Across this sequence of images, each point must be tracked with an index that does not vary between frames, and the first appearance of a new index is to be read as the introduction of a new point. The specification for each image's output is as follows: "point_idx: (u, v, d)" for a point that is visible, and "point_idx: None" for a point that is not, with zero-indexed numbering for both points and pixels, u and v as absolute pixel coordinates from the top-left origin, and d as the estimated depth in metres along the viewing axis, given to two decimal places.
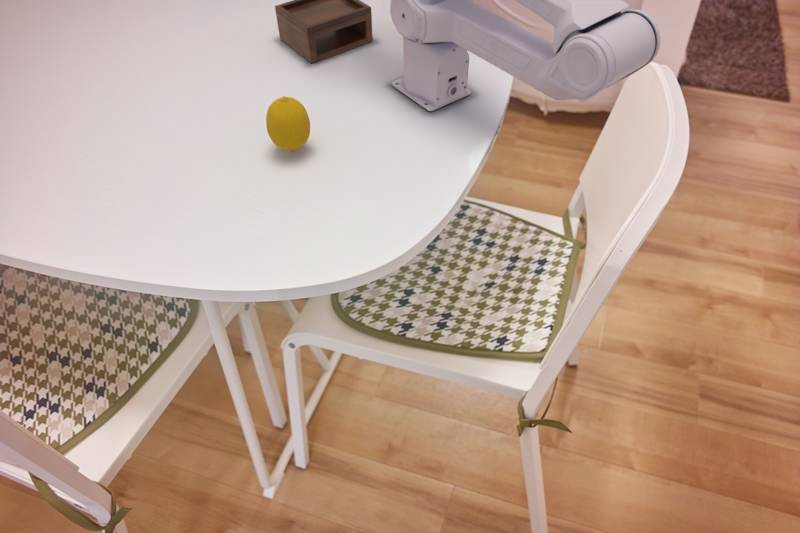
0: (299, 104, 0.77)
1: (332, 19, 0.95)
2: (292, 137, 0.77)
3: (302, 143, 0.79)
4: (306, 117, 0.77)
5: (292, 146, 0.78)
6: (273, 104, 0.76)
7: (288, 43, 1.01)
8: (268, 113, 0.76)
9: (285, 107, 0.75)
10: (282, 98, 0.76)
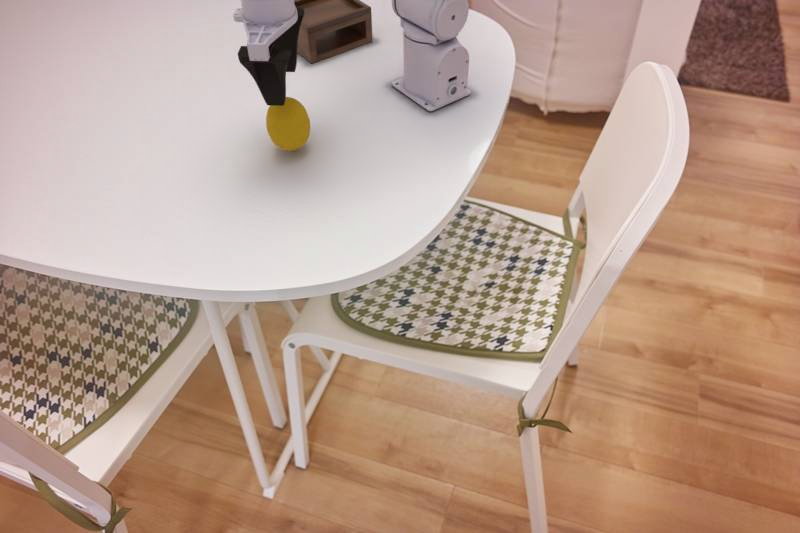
0: (299, 104, 0.77)
1: (332, 19, 0.95)
2: (292, 137, 0.77)
3: (302, 143, 0.79)
4: (306, 117, 0.77)
5: (292, 146, 0.78)
6: None
7: None
8: (268, 113, 0.76)
9: (285, 107, 0.75)
10: None
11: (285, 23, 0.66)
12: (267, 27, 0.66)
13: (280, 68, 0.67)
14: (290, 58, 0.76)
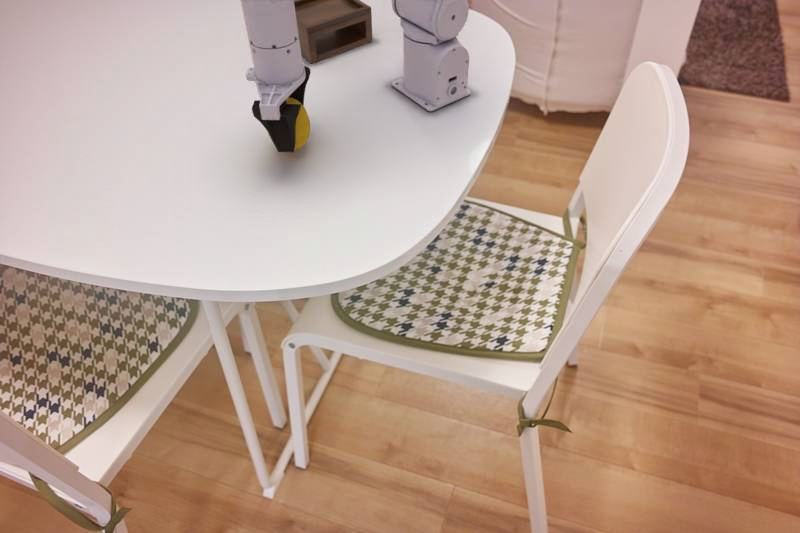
0: None
1: (332, 19, 0.95)
2: None
3: (302, 144, 0.79)
4: (306, 117, 0.77)
5: None
6: None
7: None
8: None
9: None
10: None
11: (294, 83, 0.72)
12: (278, 87, 0.71)
13: (291, 121, 0.73)
14: None
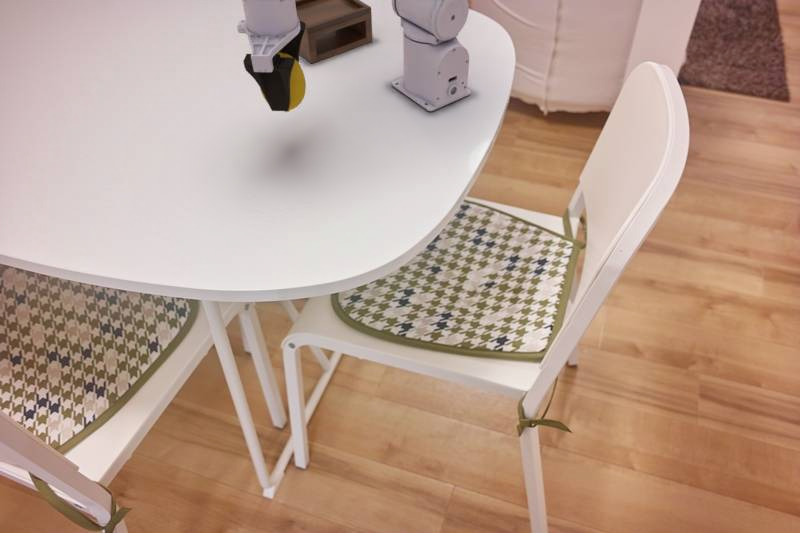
0: None
1: (332, 19, 0.95)
2: None
3: (297, 103, 0.75)
4: (301, 74, 0.73)
5: None
6: None
7: None
8: None
9: None
10: None
11: (288, 34, 0.68)
12: (270, 39, 0.67)
13: (285, 75, 0.69)
14: None
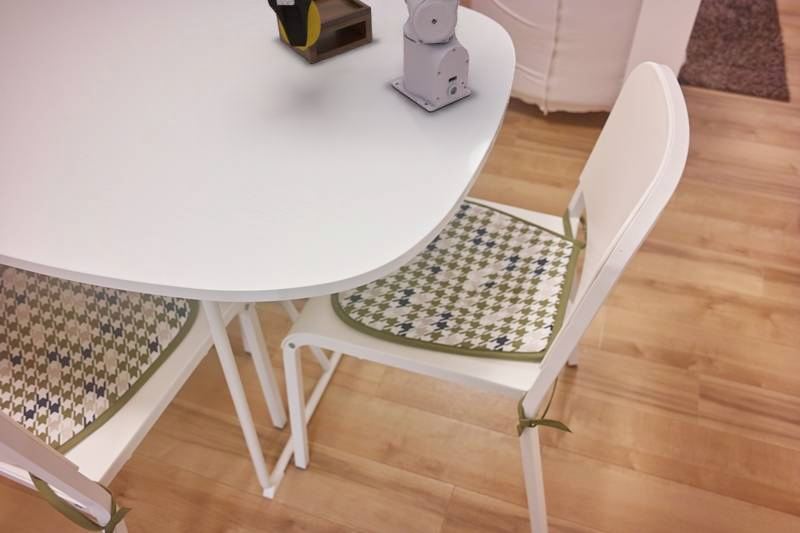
0: None
1: (332, 19, 0.95)
2: None
3: (313, 40, 0.83)
4: (317, 13, 0.81)
5: None
6: None
7: (288, 43, 1.01)
8: None
9: None
10: None
11: None
12: None
13: (304, 10, 0.77)
14: None
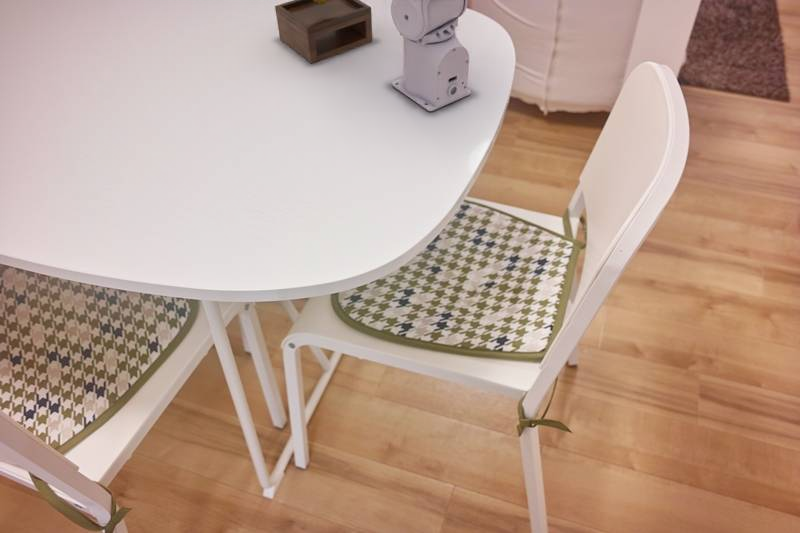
0: None
1: (332, 19, 0.95)
2: None
3: None
4: None
5: None
6: None
7: (288, 43, 1.01)
8: None
9: None
10: None
11: None
12: None
13: None
14: None
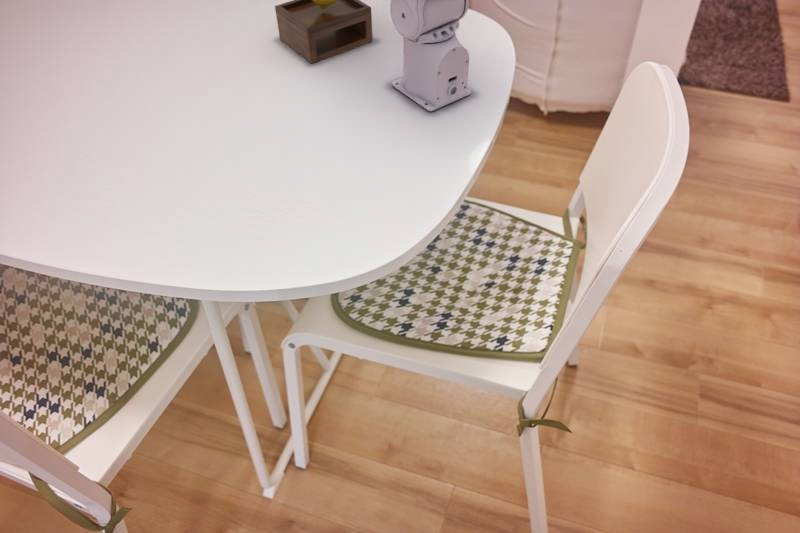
0: None
1: (332, 19, 0.95)
2: None
3: None
4: None
5: None
6: None
7: (288, 43, 1.01)
8: None
9: None
10: None
11: None
12: None
13: None
14: None
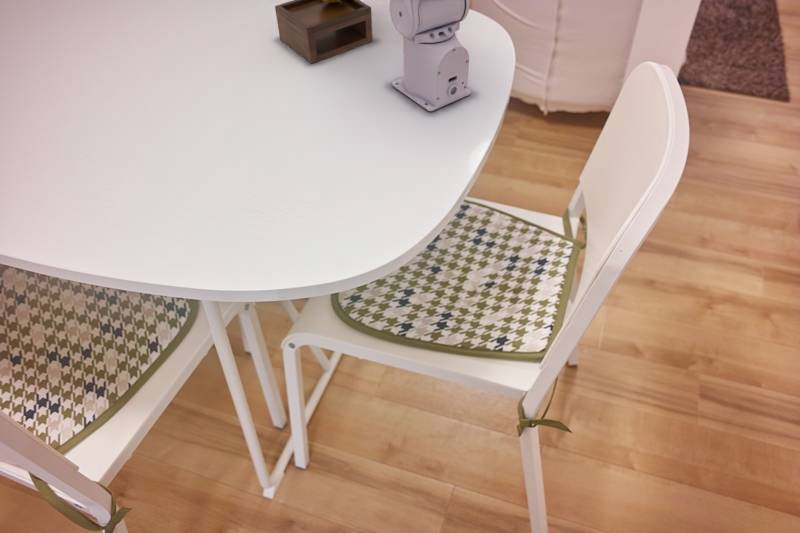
0: None
1: (332, 19, 0.95)
2: None
3: None
4: None
5: None
6: None
7: (288, 43, 1.01)
8: None
9: None
10: None
11: None
12: None
13: None
14: None
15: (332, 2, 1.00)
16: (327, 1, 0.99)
